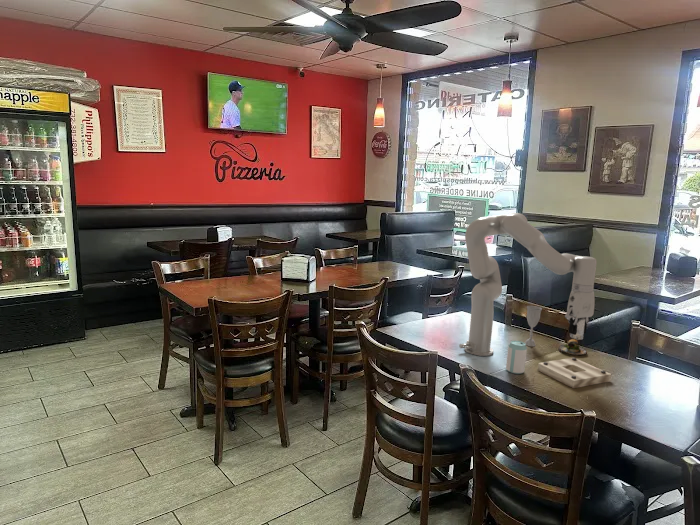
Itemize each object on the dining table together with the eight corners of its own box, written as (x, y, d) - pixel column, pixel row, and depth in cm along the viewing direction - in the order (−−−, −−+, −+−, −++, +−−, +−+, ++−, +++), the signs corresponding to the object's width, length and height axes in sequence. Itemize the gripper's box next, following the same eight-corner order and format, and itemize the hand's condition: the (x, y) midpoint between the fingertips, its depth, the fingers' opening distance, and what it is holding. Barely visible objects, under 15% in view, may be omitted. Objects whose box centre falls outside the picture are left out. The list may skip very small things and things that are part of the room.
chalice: (539, 347, 226) (544, 310, 222) (525, 346, 226) (529, 309, 222) (534, 342, 233) (538, 306, 229) (520, 341, 233) (524, 305, 230)
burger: (557, 353, 219) (559, 338, 218) (559, 346, 230) (561, 331, 228) (586, 359, 214) (588, 343, 212) (587, 351, 224) (589, 336, 223)
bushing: (577, 340, 190) (579, 320, 188) (567, 336, 194) (569, 316, 192) (585, 338, 191) (588, 319, 190) (575, 335, 196) (578, 315, 194)
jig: (573, 388, 183) (574, 379, 182) (537, 369, 199) (538, 361, 198) (610, 381, 191) (611, 372, 190) (572, 364, 207) (574, 356, 206)
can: (511, 366, 201) (514, 338, 199) (527, 371, 196) (530, 343, 194) (502, 370, 196) (505, 342, 194) (519, 376, 192) (522, 347, 189)
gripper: (574, 291, 182) (569, 338, 185) (606, 288, 189) (600, 333, 192) (558, 287, 189) (553, 332, 192) (589, 284, 196) (584, 328, 199)
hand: (577, 332), depth 192 cm, fingers closed on bushing, 4 cm apart
